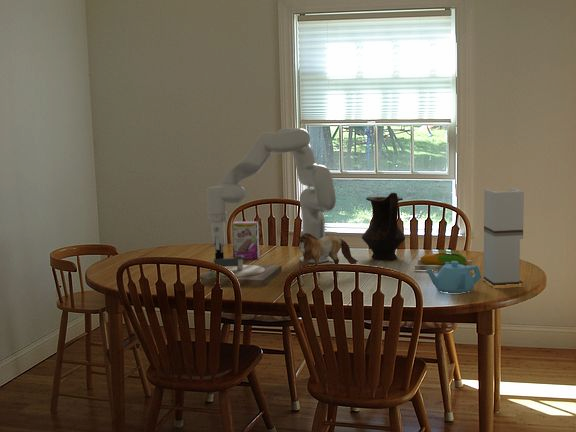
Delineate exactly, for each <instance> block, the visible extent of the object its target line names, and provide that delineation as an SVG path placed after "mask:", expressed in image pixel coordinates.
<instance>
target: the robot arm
mask: <svg viewBox="0 0 576 432" xmlns="http://www.w3.org/2000/svg"><path fill="white" fill-rule="evenodd" d="M310 143H311V135H310V133H309V132H308V131H307V130H306V129H305V128H299V127H298V128H296V127H283V128H280V129H279V130H278V131H276V132H275V131H264V132H261V134H259V135H258V137H256V140H255V141H254V143H253V144H252V145H251V147H250V148H249V150H248V151H247V152H246V154H245V156H244V157H243V158H242V159H241V160H239V162H237V163H236V164H235V165H234V166H232V168H230V169H229V170H228V171H227V172H226V173H225V174H224V176H223V177H222V179H221V180H220V181H219V184H217V185H212V186H209V187H207V188H206V207H207V209H206V210H207V222H208V223H210V227H211V228H210V230H211V241H212V247H213V248H214V259H220V258H225V255H224V253H225V252H224V247H225V246H226V244H227V232H226V231H227V230H226V222H227V221H228V215H227V213H228V212H227V204H239V203H242V202H243V201H245V199H246V197H247V191H246V189H245V188H244V187H243V186H242V185H240V183H241V182H243V181H244V180H245V179H247V178H250V177H251V176H254V175H256V174H258V173H259V172H261V171H262V169H263V168H264V166H265V165H266V163H267V162H268V160H269V158H270V157H271V156H272V154H286V153H290V154H291V155H292V156H293V159H294V163H295V169H296V174H297V178H298V181H299V183H300V184H301V185H303V186H307V188H305V189H303V190H302V191H301V193H300V195H299V204H300V210H301V216H302V218H301V219H302V235H303V234H305V233H309V234H311V235H312V236H314V237H316V238H317V239H321V238H322V237H324V236H326V234H325V233H326V232H325V231H326V230H325V229H326V227H325V226H326V224H325V221H326V220H325V215H324V213H328V212H331V211H333V209H334V208H335V206H336V202H337V201H336V200H337V197H336V191H335V184H334V181H333V177H332V173H331V171H330V169H329V168H328V167H327V166H325V165H323V164H317V161H316V158H315V153H314V151H313V148H312V146H311V144H310ZM303 259H304V257H303V255H302V256H300V257H299V261H300V262H302V263H303ZM329 259H330V256H329V254H327V255H325V256H322V257H320V258H319V263H320V264H321V263H325V262H328V261H329ZM307 264H316V263H315V261H314V260H313V259H311V260H309V261H308V263H307Z"/></svg>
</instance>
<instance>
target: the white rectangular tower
mask: <svg viewBox="0 0 576 432" xmlns="http://www.w3.org/2000/svg"><path fill="white" fill-rule="evenodd" d="M483 191H484V193H483V194H484V196H483V279H485V280H486V281H488V282H489V283H491V284H492V285H494V286H495V285H506V284H519V283H522V284H523V281H522V280H521V279H520V269H521V268H520V265H521V264H520V263H521V261H520V259H521V254H520V253H521V250H520V249H521V240H523V239H524V208H525V206H524V205H525V203H524V201H525V200H524V199H525V196H524V195H525V191H523V190H522V189H521V190H520V189H518V188H515V187H509V191H495V190H490V189H488V188H484V189H483Z"/></svg>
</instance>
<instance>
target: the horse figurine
mask: <svg viewBox="0 0 576 432" xmlns="http://www.w3.org/2000/svg"><path fill="white" fill-rule="evenodd" d="M297 237H298V238H299V241H298V243H299V245H300V250H299V252H300V253H301V254H302V256H303V257H304V259H303V262H302V263H301V267H305V266H307V265H308V264H309V263H308V261H309V260H311V259H313V260H314V261H315V263H314V264H315V266H316V265H318V264H319V258H320V257H322V256H325V255H327V254H329V256H330V257H329V259H331V260H332V261H333V264H334V265H335V264H338V265H339V262H340V259H339V257H338V253H339V251H340V250H341V254H342V255H343V258H344V259H346V260H347V262H348V263H349V265H351V264H354V265H357V263H358V262H359V260H357V259H355V258H354V257H353V256H352V254H351V253H352V252H351V248H350V246H349V244H348V243H347V242H346V241H345V240H344V239H342V238H340V237H337V236H334V235H330V234H329V235H325V236H324V237H322V238H321V239H317V238H316V237H314V236H312V235H311V234H309V233H305V234H303V233H302V235H298V236H297ZM305 268H306V267H305ZM303 275H304V274H303ZM303 275H302V276H301V275H300V278H299V280H300V279H301V280H300V281H301V284H302V285H303V286H304V284H305V281H304V280H303V279H304V277H303ZM338 277H339V272H337V278H338ZM317 280H318V284H317V285H320V283H321V273H318V272H317Z"/></svg>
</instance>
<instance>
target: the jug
mask: <svg viewBox="0 0 576 432" xmlns="http://www.w3.org/2000/svg"><path fill="white" fill-rule="evenodd" d="M365 200H367V201H370V204H371V209H372V215H371V216H372V221H371V223H370V226H369V227H368V228H367V229H366V231H365V232H363V234H362V236H361V239H362V241H363V242H364V243H365V244H366V245H367V247H368V248H369V249H370V250H371V251H372V255H371V259H372V260H375V261H380V262H381V261H383V262H384V261H385V262H386V261H387V262H388V261H396V260H398V256H397V254H396V250H397V249H398V248H399V247H400V246H401V244H402V243H403V242H404V241H405V240H406V236H405V234H404V232H403V231H402V229H401V227H400V226H399V225H398V216H399V215H398V213H399V210H398V209H399V201H403V200H404V199H403V197H400V196H398V193H397V192H390V193H389V194H388V195H387V196H367V197H365Z"/></svg>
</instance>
